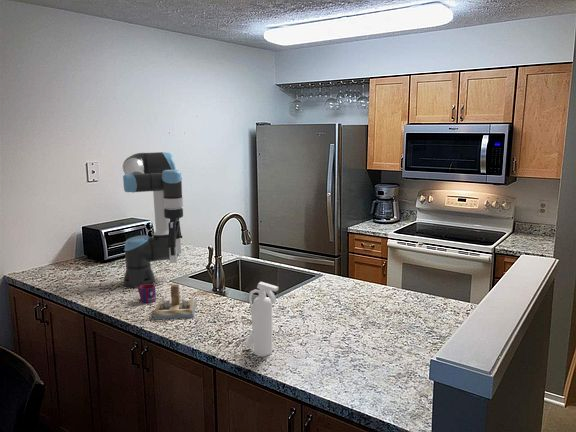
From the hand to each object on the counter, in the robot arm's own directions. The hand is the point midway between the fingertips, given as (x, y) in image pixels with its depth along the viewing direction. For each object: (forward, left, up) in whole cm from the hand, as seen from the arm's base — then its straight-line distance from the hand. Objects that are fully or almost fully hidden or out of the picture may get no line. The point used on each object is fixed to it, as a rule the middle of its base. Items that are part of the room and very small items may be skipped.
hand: (175, 258), depth 192 cm
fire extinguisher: (+42, +33, -23) cm, 58 cm away
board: (+1, -1, -23) cm, 23 cm away
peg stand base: (+3, -1, -22) cm, 22 cm away
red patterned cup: (-13, -16, -23) cm, 31 cm away
